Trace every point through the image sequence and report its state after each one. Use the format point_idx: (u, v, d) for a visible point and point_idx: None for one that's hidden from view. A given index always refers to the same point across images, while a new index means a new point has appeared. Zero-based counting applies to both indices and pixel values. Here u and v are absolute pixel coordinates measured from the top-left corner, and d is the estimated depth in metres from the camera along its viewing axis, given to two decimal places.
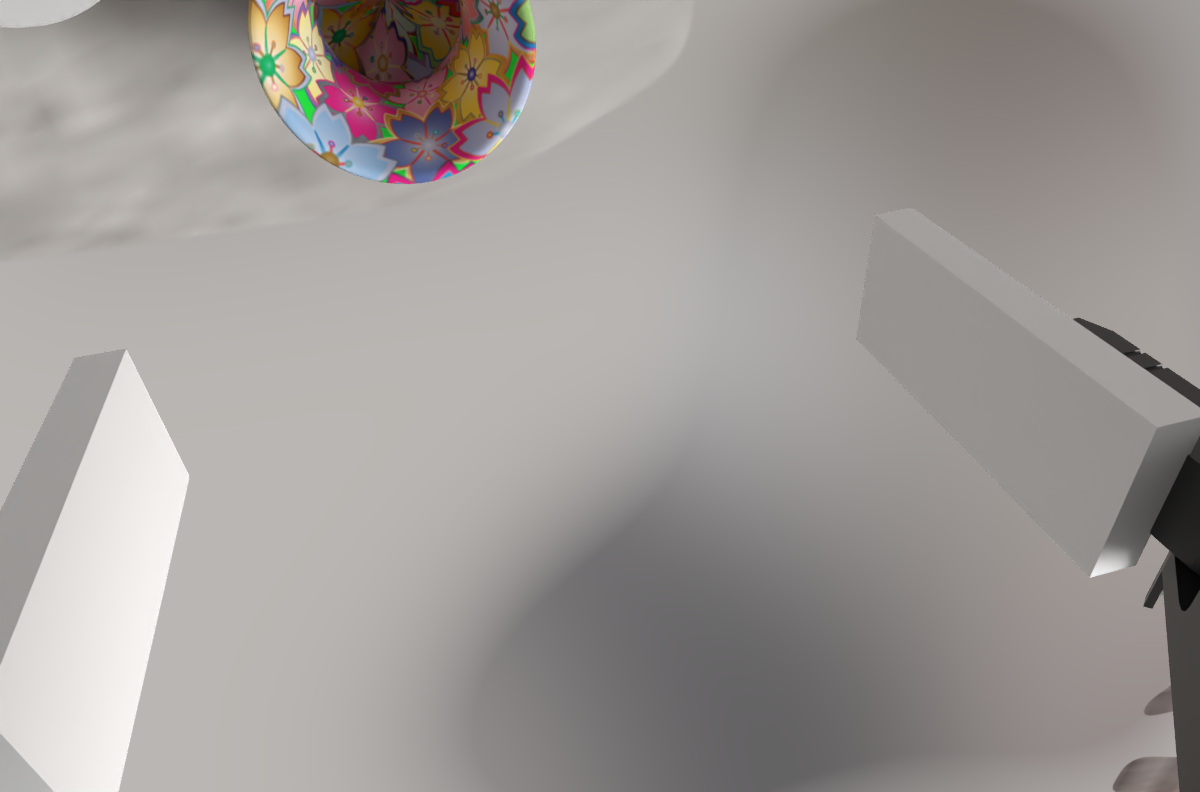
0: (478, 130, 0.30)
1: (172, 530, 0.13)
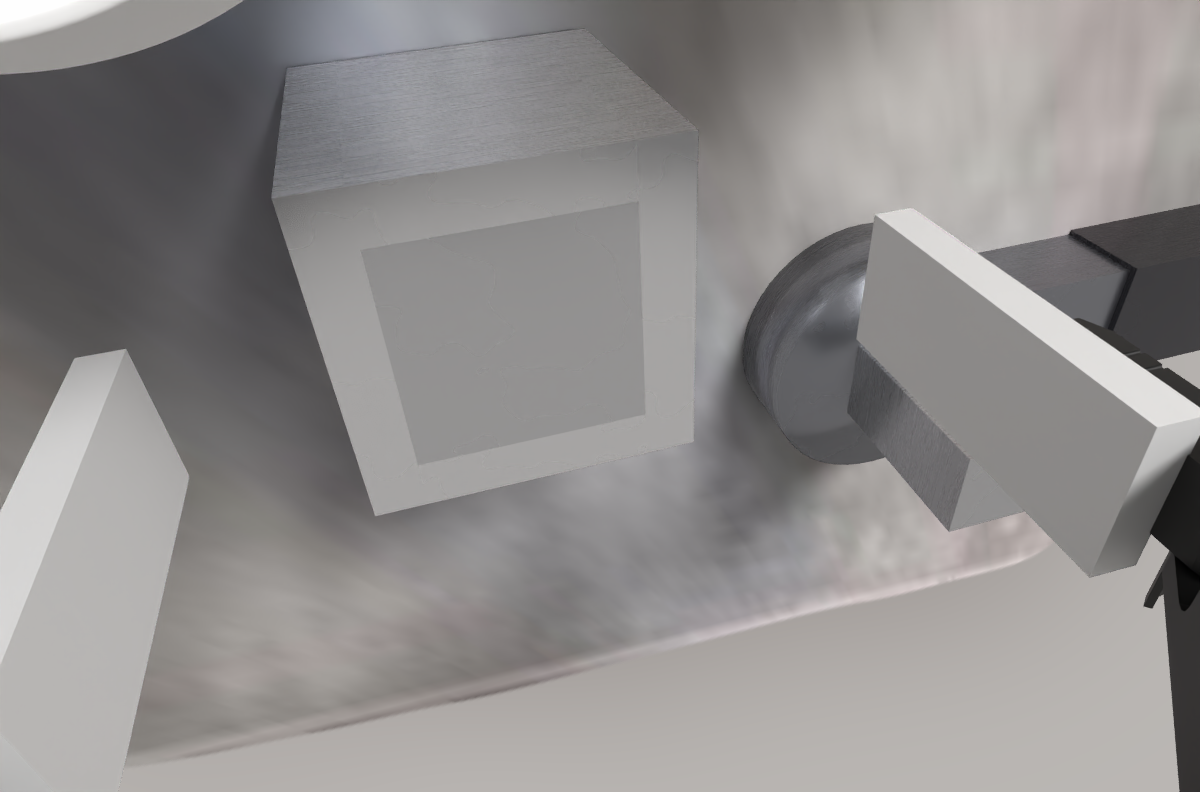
0: None
1: (172, 530, 0.13)
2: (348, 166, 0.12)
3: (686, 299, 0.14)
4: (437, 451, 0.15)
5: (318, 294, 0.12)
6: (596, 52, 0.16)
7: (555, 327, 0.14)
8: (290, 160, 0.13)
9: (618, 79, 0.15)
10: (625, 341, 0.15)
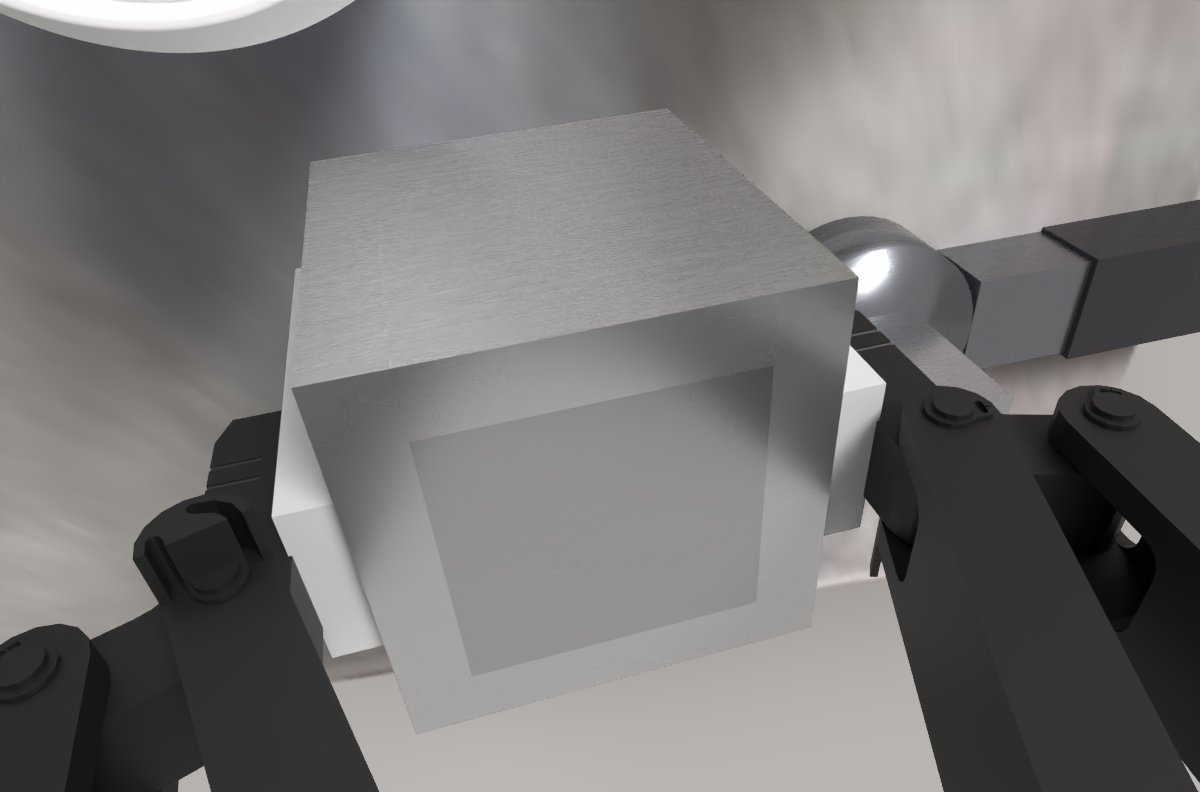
0: None
1: None
2: (394, 330, 0.09)
3: (820, 473, 0.11)
4: (497, 660, 0.12)
5: (351, 497, 0.09)
6: (690, 144, 0.13)
7: (654, 515, 0.11)
8: (316, 316, 0.09)
9: (728, 188, 0.12)
10: (740, 525, 0.11)
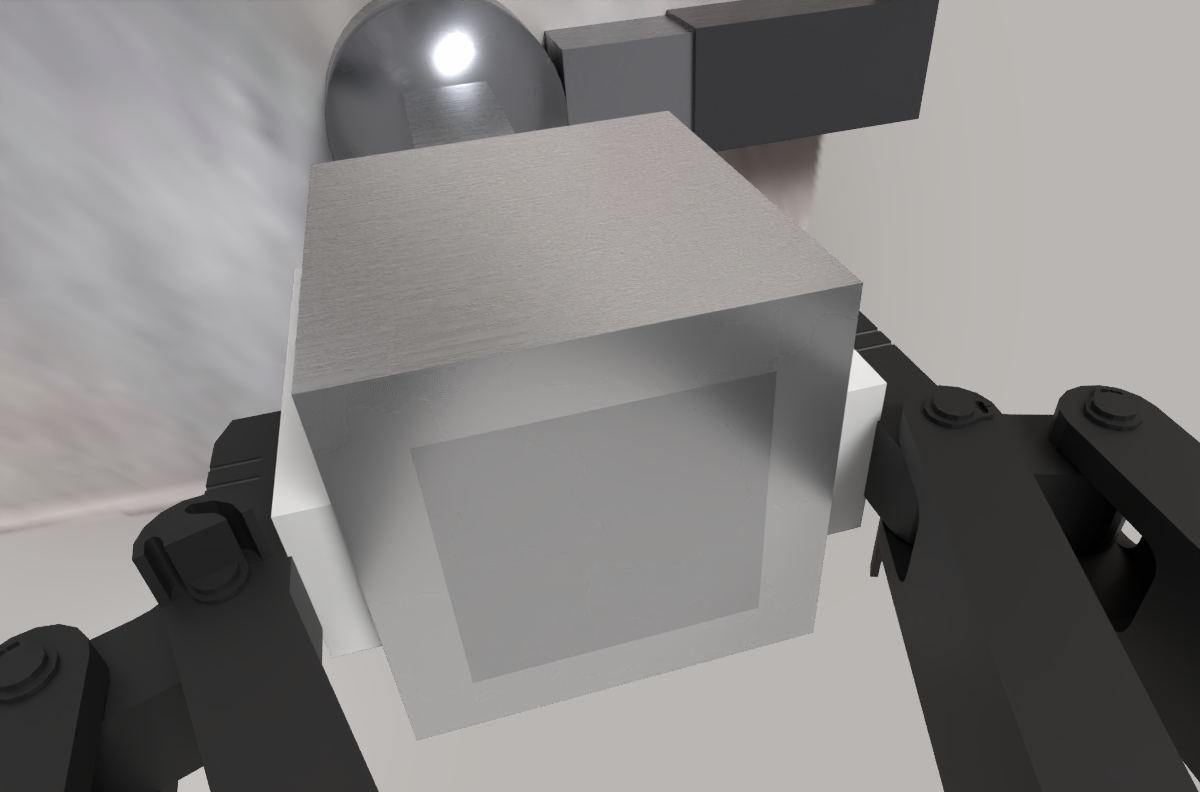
0: None
1: None
2: (394, 335, 0.09)
3: (823, 479, 0.11)
4: (498, 666, 0.12)
5: (352, 504, 0.09)
6: (692, 147, 0.13)
7: (656, 521, 0.11)
8: (316, 322, 0.09)
9: (730, 192, 0.12)
10: (742, 530, 0.11)
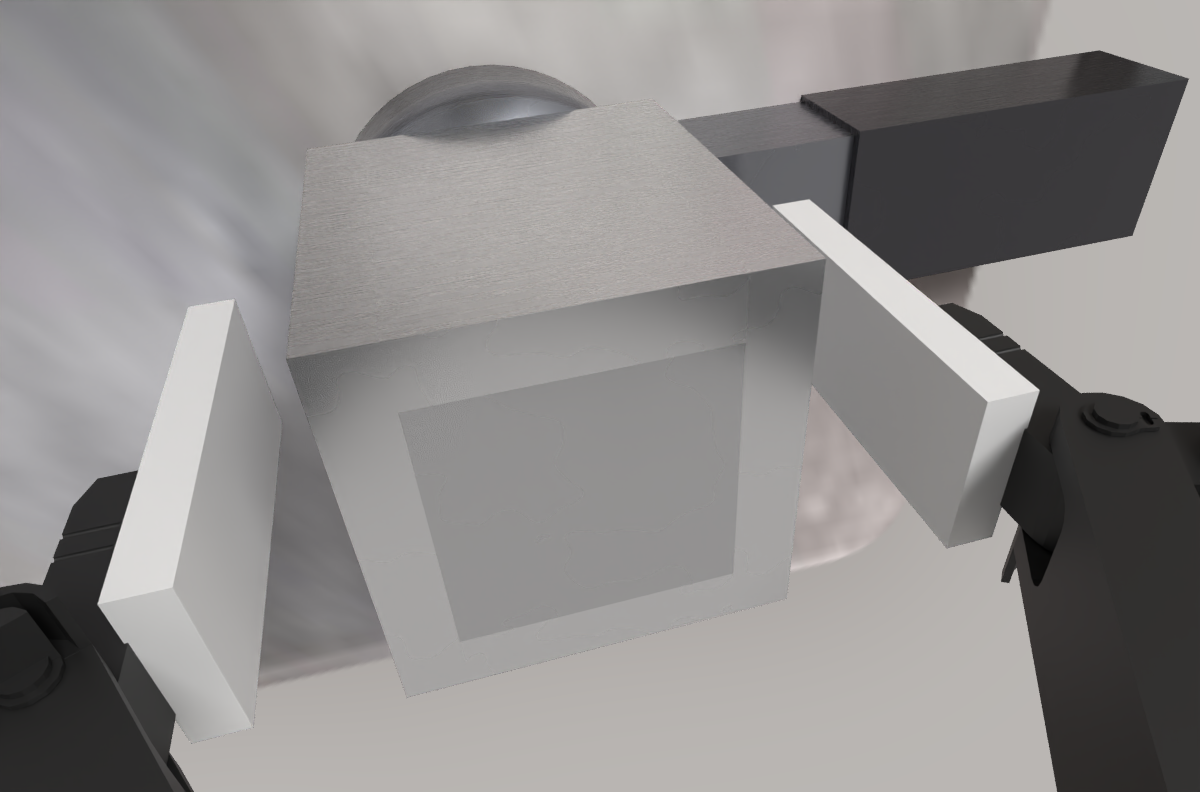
0: None
1: (274, 467, 0.14)
2: (384, 306, 0.10)
3: (793, 448, 0.12)
4: (483, 626, 0.12)
5: (343, 465, 0.10)
6: (673, 134, 0.14)
7: (633, 486, 0.11)
8: (310, 294, 0.10)
9: (707, 176, 0.12)
10: (716, 497, 0.12)
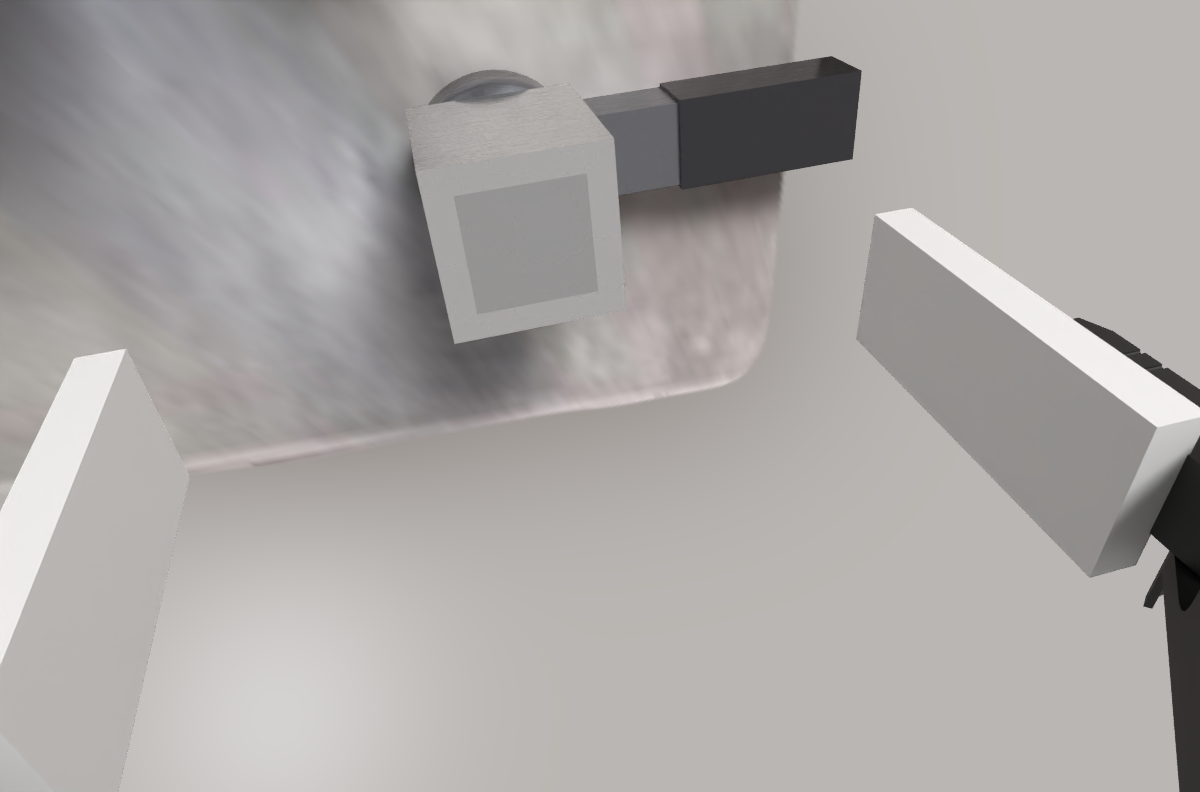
0: None
1: (172, 530, 0.13)
2: (448, 157, 0.26)
3: (615, 225, 0.28)
4: (487, 307, 0.28)
5: (433, 218, 0.26)
6: (573, 98, 0.30)
7: (547, 238, 0.28)
8: (419, 155, 0.26)
9: (581, 113, 0.28)
10: (584, 248, 0.28)
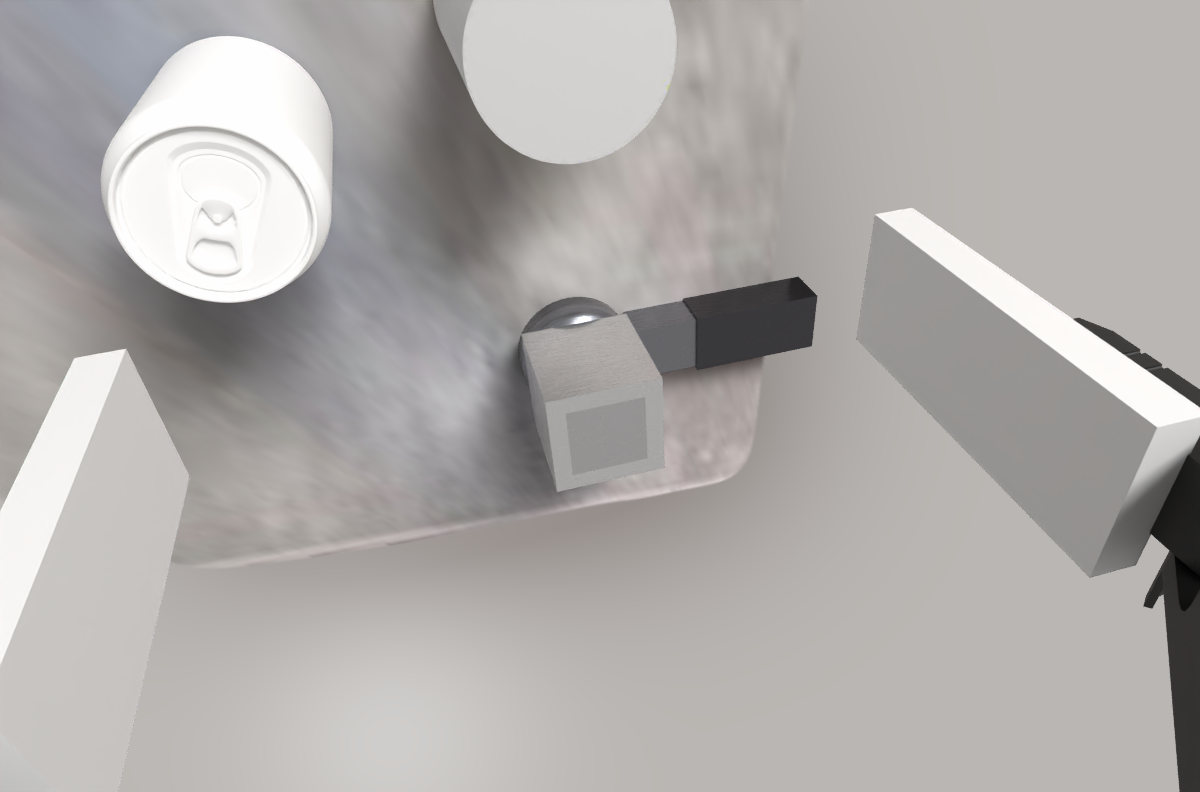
0: None
1: (172, 530, 0.13)
2: (562, 390, 0.43)
3: (660, 422, 0.45)
4: (579, 470, 0.45)
5: (552, 425, 0.43)
6: (631, 331, 0.47)
7: (619, 432, 0.44)
8: (543, 386, 0.43)
9: (638, 349, 0.45)
10: (640, 435, 0.45)
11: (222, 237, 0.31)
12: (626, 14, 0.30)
